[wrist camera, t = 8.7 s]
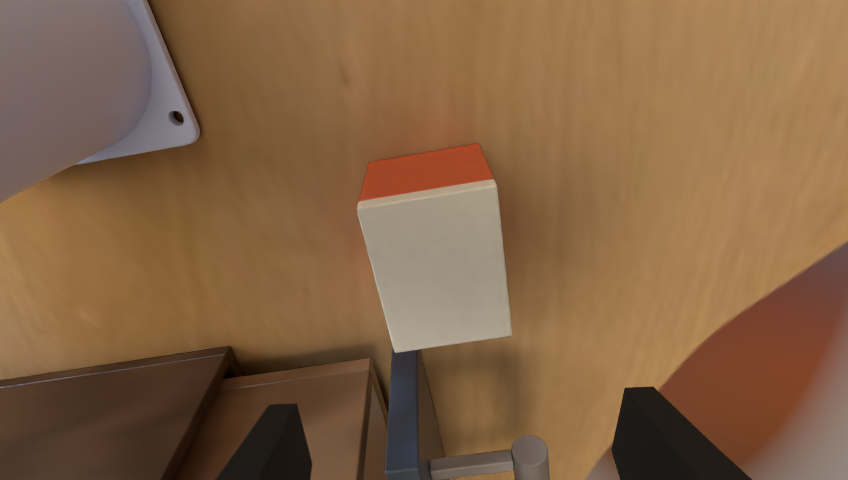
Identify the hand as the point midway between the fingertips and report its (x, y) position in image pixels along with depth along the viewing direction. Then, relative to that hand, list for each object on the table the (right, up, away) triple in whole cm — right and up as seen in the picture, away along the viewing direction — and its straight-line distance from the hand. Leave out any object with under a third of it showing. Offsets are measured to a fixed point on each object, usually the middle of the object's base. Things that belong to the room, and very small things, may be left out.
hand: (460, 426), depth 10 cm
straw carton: (0, +5, +9) cm, 10 cm away
